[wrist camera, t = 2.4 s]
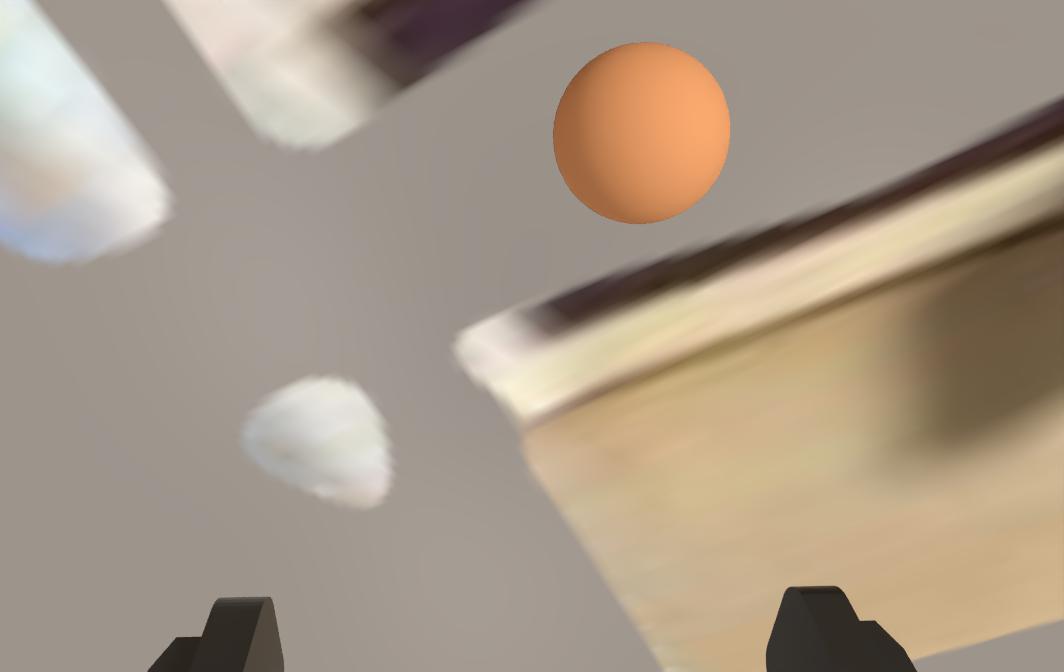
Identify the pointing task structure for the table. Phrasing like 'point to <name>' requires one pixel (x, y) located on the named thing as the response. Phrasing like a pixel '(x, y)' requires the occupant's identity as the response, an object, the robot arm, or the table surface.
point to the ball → (641, 133)
